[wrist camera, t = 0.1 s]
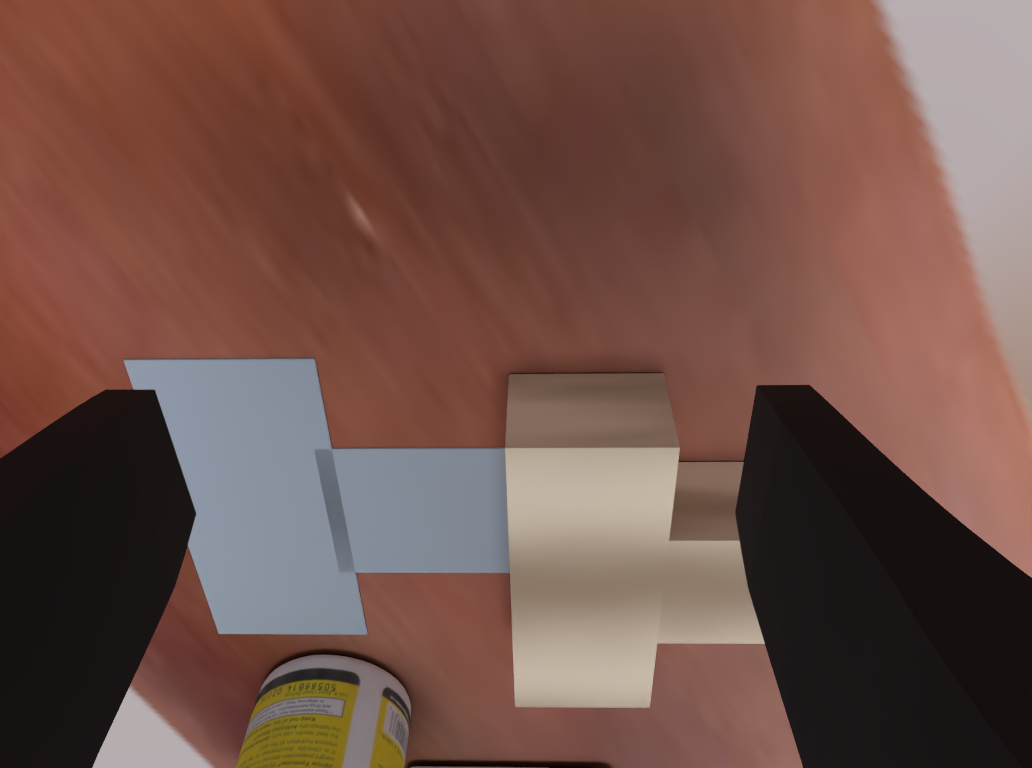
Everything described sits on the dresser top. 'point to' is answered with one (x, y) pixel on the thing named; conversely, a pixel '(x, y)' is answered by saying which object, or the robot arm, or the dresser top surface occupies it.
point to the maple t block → (613, 540)
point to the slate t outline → (312, 497)
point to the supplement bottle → (328, 717)
